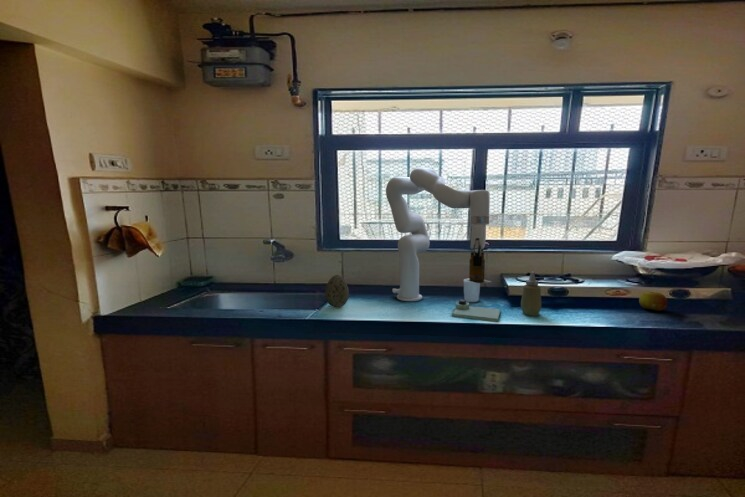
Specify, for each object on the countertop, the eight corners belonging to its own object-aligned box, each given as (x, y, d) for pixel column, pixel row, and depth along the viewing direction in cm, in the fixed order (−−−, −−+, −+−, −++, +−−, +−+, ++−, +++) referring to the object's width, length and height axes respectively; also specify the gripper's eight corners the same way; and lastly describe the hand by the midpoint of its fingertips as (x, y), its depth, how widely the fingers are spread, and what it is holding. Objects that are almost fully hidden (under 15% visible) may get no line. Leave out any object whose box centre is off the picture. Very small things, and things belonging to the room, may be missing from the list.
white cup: (478, 298, 173) (478, 278, 171) (481, 302, 165) (482, 282, 164) (461, 298, 173) (462, 278, 172) (464, 302, 166) (464, 281, 164)
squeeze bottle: (532, 318, 143) (534, 274, 140) (516, 312, 150) (517, 271, 147) (545, 315, 146) (547, 272, 144) (529, 309, 153) (530, 269, 151)
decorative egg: (344, 302, 168) (343, 272, 166) (352, 308, 159) (352, 276, 157) (322, 305, 164) (321, 274, 162) (330, 312, 154) (329, 278, 152)
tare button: (458, 304, 153) (458, 301, 153) (459, 303, 156) (459, 299, 156) (465, 305, 152) (465, 301, 152) (466, 303, 155) (466, 299, 155)
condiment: (477, 278, 150) (477, 250, 148) (492, 282, 142) (492, 252, 141) (464, 280, 147) (464, 251, 145) (478, 284, 139) (479, 254, 138)
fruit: (663, 308, 152) (665, 290, 151) (669, 314, 144) (671, 295, 143) (636, 306, 157) (638, 288, 156) (640, 311, 149) (642, 293, 148)
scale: (451, 316, 146) (451, 309, 146) (456, 307, 158) (456, 301, 158) (497, 321, 139) (498, 314, 139) (500, 312, 151) (500, 305, 150)
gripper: (472, 219, 151) (472, 260, 154) (466, 221, 136) (465, 267, 138) (491, 219, 148) (490, 261, 151) (486, 222, 133) (485, 268, 135)
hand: (478, 264), depth 144 cm, fingers closed on condiment, 6 cm apart
